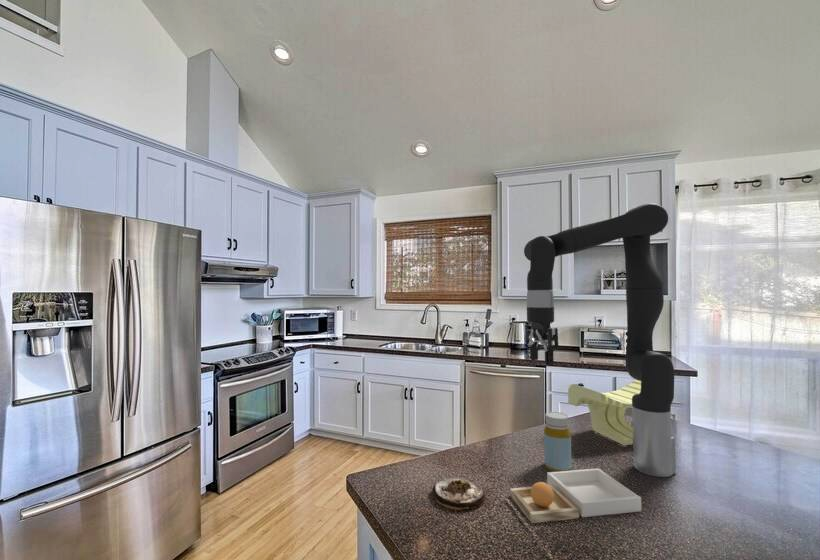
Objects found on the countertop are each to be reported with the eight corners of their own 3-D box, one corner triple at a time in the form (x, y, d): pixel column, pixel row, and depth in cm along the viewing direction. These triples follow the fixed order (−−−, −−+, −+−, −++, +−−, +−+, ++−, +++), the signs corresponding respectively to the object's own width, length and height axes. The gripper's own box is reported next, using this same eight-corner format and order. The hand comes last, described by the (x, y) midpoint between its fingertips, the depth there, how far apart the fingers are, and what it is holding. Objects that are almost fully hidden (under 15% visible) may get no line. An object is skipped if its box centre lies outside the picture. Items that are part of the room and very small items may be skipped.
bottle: (573, 475, 102) (572, 419, 102) (546, 473, 103) (545, 418, 104) (568, 464, 108) (567, 412, 109) (543, 462, 110) (542, 410, 110)
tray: (552, 494, 92) (551, 484, 92) (579, 520, 81) (578, 509, 81) (510, 498, 90) (510, 488, 90) (532, 525, 79) (531, 514, 79)
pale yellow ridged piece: (636, 424, 142) (634, 377, 143) (675, 439, 127) (673, 387, 128) (568, 431, 135) (567, 382, 136) (602, 449, 119) (600, 392, 120)
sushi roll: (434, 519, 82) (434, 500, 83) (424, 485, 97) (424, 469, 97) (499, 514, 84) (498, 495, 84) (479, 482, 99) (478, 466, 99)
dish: (598, 481, 98) (598, 468, 98) (641, 513, 84) (641, 497, 84) (547, 486, 96) (547, 472, 96) (582, 519, 81) (582, 503, 82)
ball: (547, 498, 88) (546, 477, 89) (558, 510, 84) (558, 487, 84) (527, 500, 88) (526, 478, 88) (537, 512, 83) (537, 489, 83)
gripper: (566, 306, 102) (567, 366, 101) (539, 305, 116) (540, 357, 115) (540, 306, 100) (542, 367, 100) (517, 305, 114) (518, 358, 114)
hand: (541, 362), depth 107 cm, fingers open, 8 cm apart
